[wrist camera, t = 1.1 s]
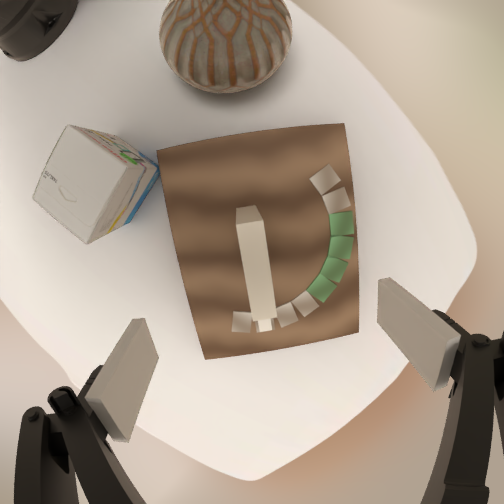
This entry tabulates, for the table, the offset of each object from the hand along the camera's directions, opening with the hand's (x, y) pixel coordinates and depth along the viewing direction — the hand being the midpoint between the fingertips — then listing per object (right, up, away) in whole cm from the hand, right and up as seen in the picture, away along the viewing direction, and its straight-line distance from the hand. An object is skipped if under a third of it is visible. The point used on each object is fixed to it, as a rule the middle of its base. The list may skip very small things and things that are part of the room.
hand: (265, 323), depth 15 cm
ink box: (-17, +13, +18) cm, 28 cm away
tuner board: (+1, +4, +21) cm, 21 cm away
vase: (-4, +28, +14) cm, 31 cm away
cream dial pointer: (0, +1, +19) cm, 19 cm away
